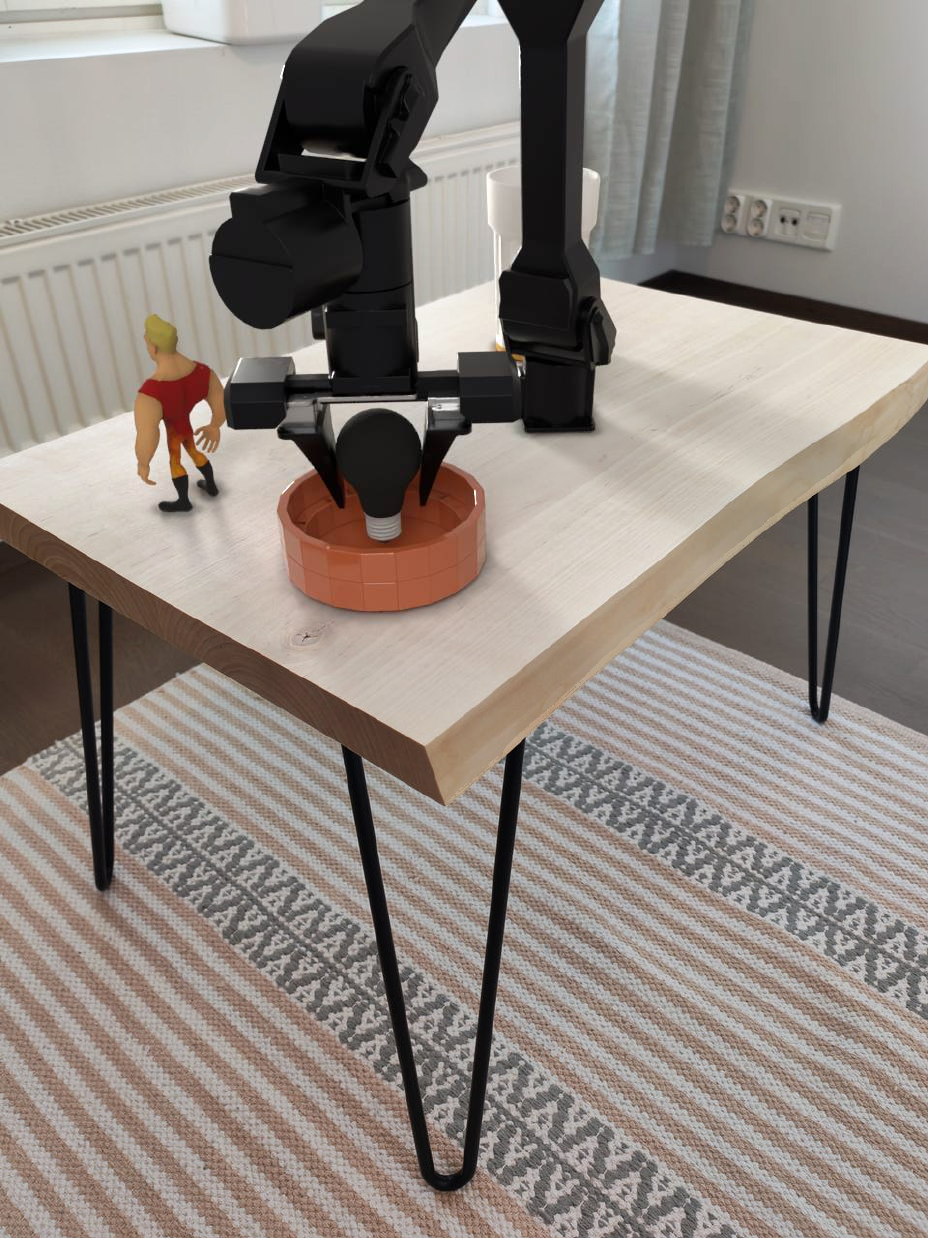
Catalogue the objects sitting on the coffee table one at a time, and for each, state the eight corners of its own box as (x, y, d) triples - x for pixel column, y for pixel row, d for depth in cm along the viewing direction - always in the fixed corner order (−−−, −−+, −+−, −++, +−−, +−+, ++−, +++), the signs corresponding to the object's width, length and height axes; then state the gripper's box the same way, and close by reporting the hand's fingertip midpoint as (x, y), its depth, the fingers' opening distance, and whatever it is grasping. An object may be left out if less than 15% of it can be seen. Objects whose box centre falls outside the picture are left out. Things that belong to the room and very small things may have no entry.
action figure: (216, 471, 83) (184, 293, 74) (248, 481, 82) (219, 300, 73) (132, 519, 77) (86, 330, 68) (165, 531, 75) (123, 339, 66)
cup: (522, 322, 113) (526, 159, 103) (608, 342, 107) (621, 171, 97) (465, 352, 105) (463, 178, 95) (554, 374, 100) (562, 192, 90)
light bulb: (414, 567, 68) (408, 433, 62) (333, 559, 69) (319, 426, 63) (433, 525, 72) (429, 397, 66) (357, 517, 73) (346, 391, 67)
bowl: (480, 509, 77) (480, 451, 74) (490, 614, 65) (490, 550, 63) (297, 514, 77) (290, 456, 74) (274, 620, 65) (264, 556, 62)
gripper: (510, 239, 66) (508, 450, 75) (234, 246, 66) (265, 457, 75) (524, 291, 57) (519, 523, 66) (203, 298, 57) (242, 531, 66)
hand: (383, 504), depth 69 cm, fingers closed on light bulb, 5 cm apart
